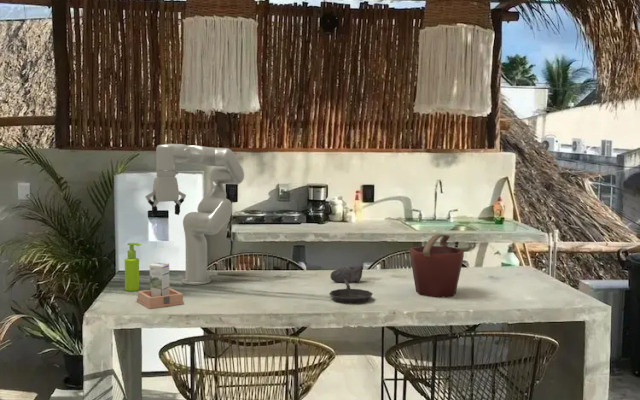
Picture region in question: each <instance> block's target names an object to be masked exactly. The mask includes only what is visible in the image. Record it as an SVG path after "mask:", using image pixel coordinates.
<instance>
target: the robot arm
mask: <svg viewBox="0 0 640 400" xmlns="http://www.w3.org/2000/svg"><path fill="white" fill-rule="evenodd" d="M155 161H156V162H155V163H156V177H154V179H153V184H152V192H150V193H148V194H147V195H145V199H146V201H147V203H148V204H149V205H150V206H151V213H152V215H153V217H157V216H158V206H157V205H158V204H159V203H161V202H163V203H164V202H173V203H174V215H178V216H179V215H180V213H181V205H182V204H183V202H184V201H185V199H186V196H187V194H185V193H183V192H181V191H180V190H179V185H178V178H177V177H176V176H177V175H179V172H178V171H176V163H177V164H178V163H179V164H180V163H181V164H187V165H197V166H206V167H207V166H208V167H212V168H211V169H210V171H209V189H208V192H207V193H206V194H205V195H204V197H203V198H202V199H201V200H200V202H199V203H198V205H197V211H191V212H188V213H186V214H185V215H184V217H183V220H182V227H183V231H184V232H183V233H184V238H185V278H182V279H181V282H182V284H185V285H193V286H195V285H196V286H197V285H205V284H209V283H210V282H211V281H212V280H211V278H213V277H218V272H217V271H214V272H213V271H208V242H207V238H206V236H205V235H212V236H213V235H214V236H215V235H216V234H218V233H219V232H220V231H221V229H222V228H223V227H224V226H225V224H226V222H228V220H229V219H230V217H231V216H232V213H233V204H232V201H231V200H230V199H228V198H227V192H226V189H225V187H224V185H240V184H241V183H242V182H243V181H244V179H245V178H244V177H245V172H244V170H243V167H242V165H241V163H240V161H239V159H238V158H237V156H236V154H235V153H234V152H233V150H231V149H230V148H227V147H210V146H203V145H187V144H185V143H184V144H183V143H164V144H158V145H157V146H156V160H155ZM151 198H152V199H151Z"/></svg>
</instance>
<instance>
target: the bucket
mask: <svg viewBox="0 0 640 400" xmlns="http://www.w3.org/2000/svg"><path fill="white" fill-rule="evenodd" d="M450 237H451V235H449V234H443V233H441V234H440V233H439V234H434V235H432V236H431V237H430V238H429V240H428V241H427V243H425V244H424V245H422V246H415V247H410V248H409V257H410V263H411V268H412V275H413V281H414V287H415V291H416V293H417V294H418V295H419V296H423V297H428V298H429V297H430V298H450V297H454V296H455V295H456V293H457V289H458V288H457V287H458V283H459V280H460V275H461V270H462V265H463V260H464V257H465V255H464V254H465V253H464V250H465V249H462V248H457V247H451V246H449V245H448V240H449V239H450ZM439 238H441V239H440V241H439V245H438V246H437V245H435V244H436V242H437V241H438V240H439Z"/></svg>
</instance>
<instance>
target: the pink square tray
mask: <svg viewBox="0 0 640 400" xmlns="http://www.w3.org/2000/svg"><path fill="white" fill-rule="evenodd" d="M136 292H137V298H136V302H137V303H139V304H140V305H142V306H144V307H145V308H147V309H158V308H165V307H172V306H181V305H185V301H184V293H182V292H179V291H177V290H175V289H173V288H171V287H169V293H170V295H165V296H157V297H150V289H148V290H137V291H136Z"/></svg>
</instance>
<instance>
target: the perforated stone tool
mask: <svg viewBox="0 0 640 400" xmlns="http://www.w3.org/2000/svg"><path fill="white" fill-rule="evenodd" d="M362 276H363V268H362V267H361V266H353V267H351V266H349V267H343V268H342V267H341V268H337V269H335V270H333V271H332V272H331V273H330V279H331V281H333V282H335V283H343V284H345V282H344V280H343V279H346V280H347V281H348V283H349V284H350V283H351V284H352V283H354V282H355V283H359V282H360V281H361V279H362Z"/></svg>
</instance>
